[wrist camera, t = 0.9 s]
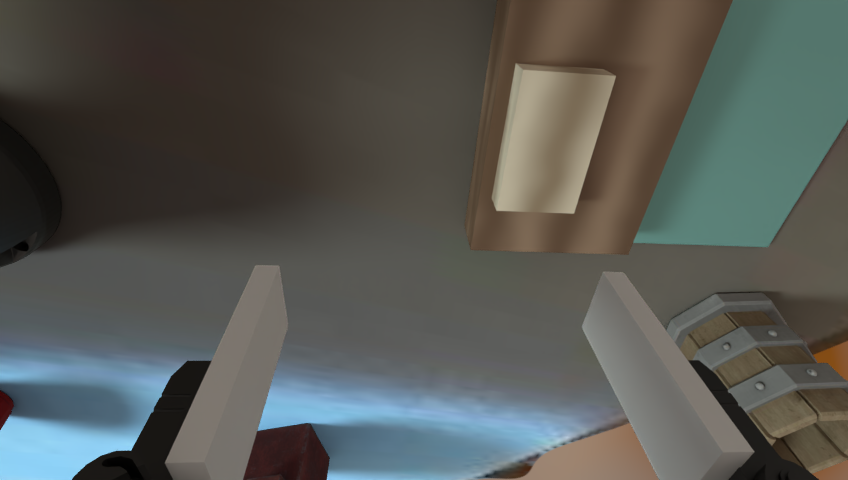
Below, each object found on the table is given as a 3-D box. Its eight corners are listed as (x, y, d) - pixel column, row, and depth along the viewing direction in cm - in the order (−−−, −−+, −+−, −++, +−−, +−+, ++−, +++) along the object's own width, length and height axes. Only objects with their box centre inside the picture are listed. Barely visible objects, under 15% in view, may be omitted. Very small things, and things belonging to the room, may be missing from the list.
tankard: (747, 272, 44) (885, 395, 32) (788, 330, 50) (919, 454, 37) (586, 367, 51) (646, 497, 39) (637, 409, 57) (704, 535, 44)
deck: (464, 225, 39) (470, 249, 36) (501, -29, 28) (515, -28, 25) (609, 230, 40) (628, 254, 37) (698, -13, 29) (736, -9, 26)
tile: (491, 198, 33) (496, 210, 32) (515, 63, 28) (523, 69, 26) (565, 201, 34) (574, 213, 32) (603, 69, 28) (616, 75, 27)
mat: (610, 239, 41) (613, 242, 41) (711, -29, 29) (716, -29, 28) (764, 244, 42) (767, 247, 42) (921, -11, 30) (928, -10, 30)
